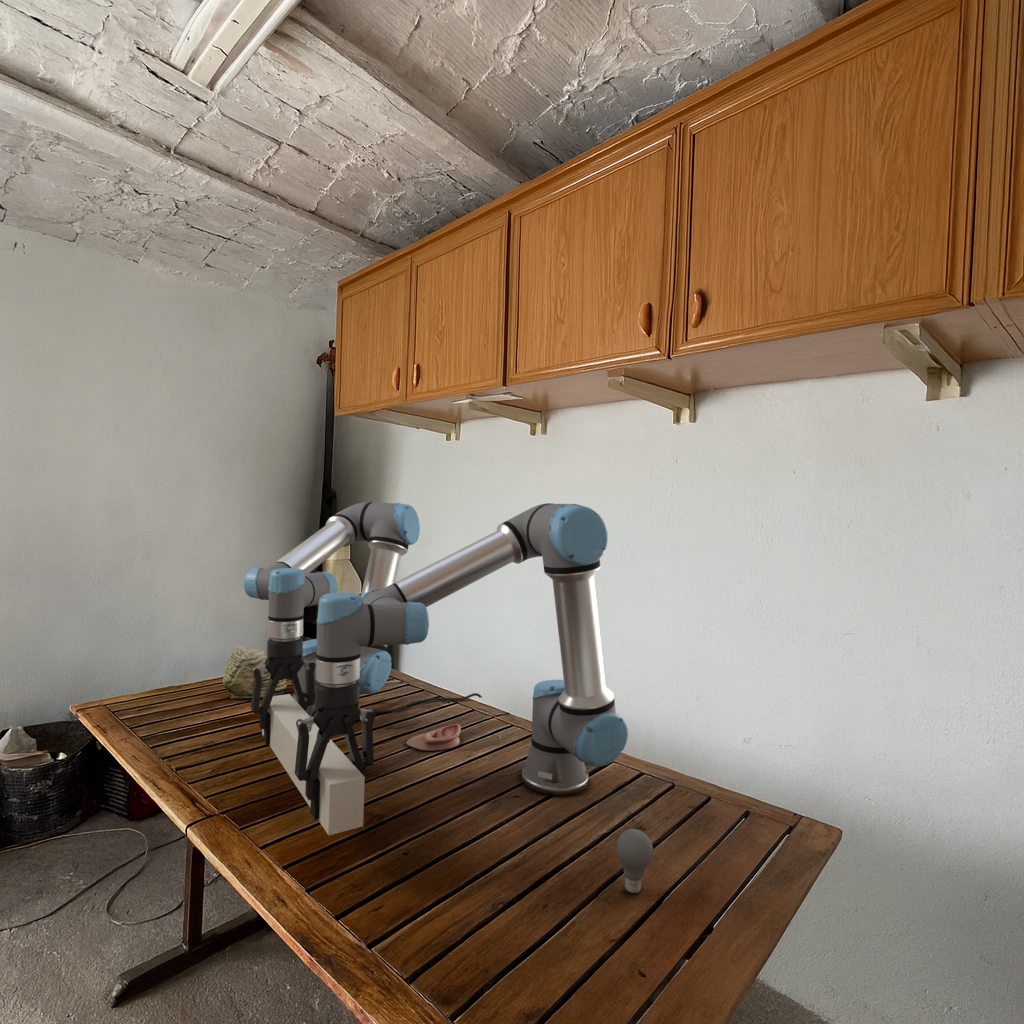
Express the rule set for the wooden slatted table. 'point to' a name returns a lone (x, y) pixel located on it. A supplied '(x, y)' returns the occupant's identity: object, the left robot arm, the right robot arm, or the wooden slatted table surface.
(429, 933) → the wooden slatted table surface
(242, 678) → the fossil
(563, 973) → the wooden slatted table surface
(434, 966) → the wooden slatted table surface
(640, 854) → the light bulb
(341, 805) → the post
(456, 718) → the wooden slatted table surface
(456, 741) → the anatomical model
